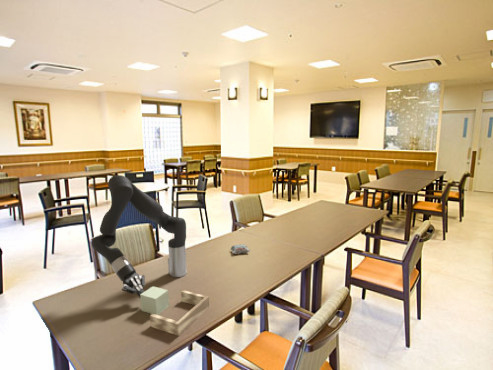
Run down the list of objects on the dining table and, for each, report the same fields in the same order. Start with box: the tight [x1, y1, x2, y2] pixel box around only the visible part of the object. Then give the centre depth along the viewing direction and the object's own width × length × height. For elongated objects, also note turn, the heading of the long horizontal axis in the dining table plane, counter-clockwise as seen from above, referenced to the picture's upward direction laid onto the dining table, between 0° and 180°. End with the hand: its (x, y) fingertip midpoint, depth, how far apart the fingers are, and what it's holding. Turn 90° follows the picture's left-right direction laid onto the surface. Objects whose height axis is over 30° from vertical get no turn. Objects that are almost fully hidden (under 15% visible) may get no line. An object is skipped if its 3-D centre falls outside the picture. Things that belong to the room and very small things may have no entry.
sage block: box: [139, 286, 170, 315], centre depth 134 cm, size 9×8×8 cm
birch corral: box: [149, 289, 210, 337], centre depth 128 cm, size 14×22×5 cm, turn 155°
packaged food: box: [230, 244, 251, 255], centre depth 197 cm, size 9×12×5 cm
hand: (144, 297), depth 136 cm, fingers closed
